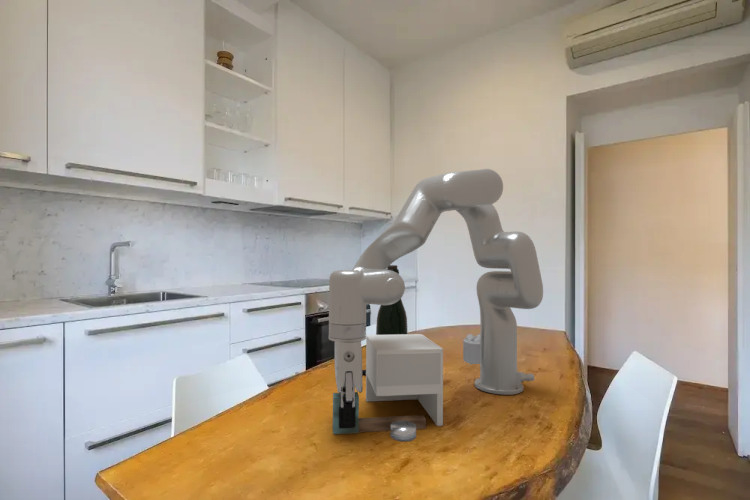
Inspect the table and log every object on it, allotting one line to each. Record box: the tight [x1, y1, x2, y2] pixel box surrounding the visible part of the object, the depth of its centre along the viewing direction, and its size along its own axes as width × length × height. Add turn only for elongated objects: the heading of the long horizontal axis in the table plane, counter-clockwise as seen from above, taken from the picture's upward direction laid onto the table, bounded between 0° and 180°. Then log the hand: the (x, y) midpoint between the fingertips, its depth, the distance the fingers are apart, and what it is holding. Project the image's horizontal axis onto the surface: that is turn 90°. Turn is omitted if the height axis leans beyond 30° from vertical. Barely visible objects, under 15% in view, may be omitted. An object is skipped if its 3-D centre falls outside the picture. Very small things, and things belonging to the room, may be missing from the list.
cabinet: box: [365, 333, 444, 427], centre depth 88 cm, size 14×17×16 cm
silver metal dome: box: [389, 421, 417, 443], centre depth 76 cm, size 5×5×2 cm
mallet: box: [332, 391, 427, 435], centre depth 79 cm, size 19×3×7 cm, turn 98°
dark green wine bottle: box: [375, 264, 409, 335], centre depth 126 cm, size 10×10×33 cm
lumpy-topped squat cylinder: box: [462, 333, 480, 365], centre depth 135 cm, size 10×13×9 cm
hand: (346, 422), depth 78 cm, fingers closed on mallet, 2 cm apart
